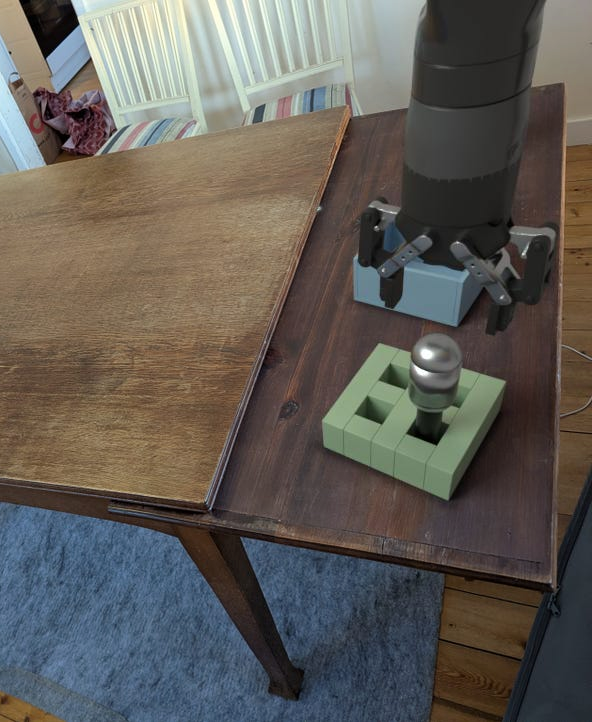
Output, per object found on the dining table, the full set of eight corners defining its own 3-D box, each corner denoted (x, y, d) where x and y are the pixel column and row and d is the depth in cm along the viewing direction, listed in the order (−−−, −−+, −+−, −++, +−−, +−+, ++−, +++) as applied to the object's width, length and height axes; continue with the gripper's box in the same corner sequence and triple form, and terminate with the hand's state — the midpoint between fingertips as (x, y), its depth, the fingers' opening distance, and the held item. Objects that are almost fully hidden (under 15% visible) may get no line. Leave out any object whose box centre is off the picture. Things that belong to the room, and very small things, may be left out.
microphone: (453, 450, 68) (473, 331, 56) (436, 479, 66) (453, 362, 54) (413, 435, 71) (423, 318, 58) (396, 462, 69) (403, 347, 57)
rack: (499, 410, 70) (506, 381, 67) (448, 501, 64) (453, 474, 61) (378, 370, 79) (379, 342, 75) (323, 446, 73) (321, 420, 70)
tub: (490, 277, 85) (498, 232, 80) (456, 327, 80) (463, 282, 75) (388, 256, 94) (390, 214, 89) (353, 300, 89) (353, 258, 84)
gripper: (598, 129, 41) (548, 311, 51) (386, 115, 49) (381, 272, 60) (560, 189, 37) (514, 368, 48) (341, 162, 46) (344, 319, 57)
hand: (440, 315), depth 54 cm, fingers open, 8 cm apart
